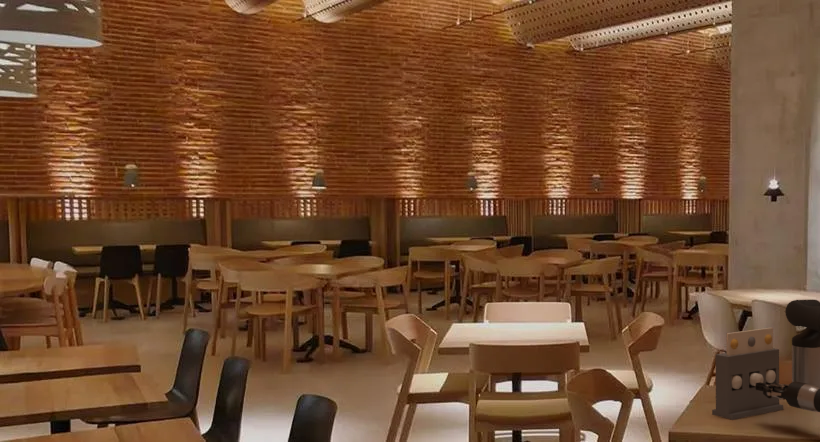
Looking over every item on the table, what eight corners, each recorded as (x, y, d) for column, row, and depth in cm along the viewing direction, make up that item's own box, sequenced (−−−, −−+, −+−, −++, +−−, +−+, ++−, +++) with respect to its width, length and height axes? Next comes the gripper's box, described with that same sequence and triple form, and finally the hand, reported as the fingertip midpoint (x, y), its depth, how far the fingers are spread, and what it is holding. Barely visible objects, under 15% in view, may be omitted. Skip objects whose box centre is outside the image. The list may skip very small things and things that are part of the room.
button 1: (734, 386, 274) (734, 373, 274) (742, 388, 272) (742, 375, 271) (725, 388, 272) (725, 374, 272) (732, 389, 270) (732, 376, 269)
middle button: (755, 384, 277) (755, 371, 276) (763, 386, 274) (763, 373, 274) (746, 386, 275) (746, 373, 274) (754, 387, 272) (754, 374, 272)
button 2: (767, 380, 282) (767, 367, 282) (775, 382, 279) (775, 369, 279) (759, 382, 280) (759, 369, 280) (767, 383, 277) (767, 370, 277)
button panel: (762, 404, 286) (762, 346, 286) (783, 409, 279) (783, 349, 279) (712, 414, 275) (711, 353, 274) (732, 419, 268) (732, 357, 267)
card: (771, 348, 281) (770, 327, 281) (773, 349, 280) (773, 328, 280) (726, 355, 271) (726, 333, 271) (729, 356, 270) (729, 333, 270)
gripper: (821, 381, 252) (771, 371, 267) (792, 386, 246) (742, 376, 261) (821, 406, 252) (771, 395, 267) (792, 412, 246) (742, 400, 261)
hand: (757, 385), depth 264 cm, fingers closed
